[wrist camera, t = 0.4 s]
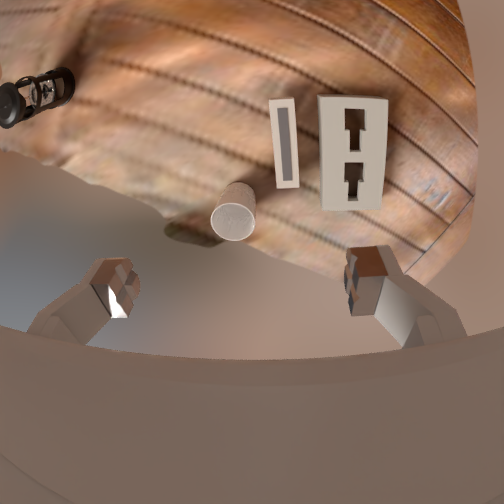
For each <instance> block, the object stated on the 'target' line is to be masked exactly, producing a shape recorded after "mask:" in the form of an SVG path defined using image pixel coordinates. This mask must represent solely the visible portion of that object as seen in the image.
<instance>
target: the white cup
mask: <svg viewBox="0 0 504 504" xmlns="http://www.w3.org/2000/svg"><path fill="white" fill-rule="evenodd" d="M255 219H256V202H255V194H254V191H253V189H252V188H251V187H250V186H249V185H247V184H244V183H241V182H238V183H232V184H230V185H228V186H227V187H226V189H225V190H224V191H223V193H222V195H221V197H220V199H219V200H218V202H217V204H216V207H215V209H214V211H213V213H212V216H211V225H212V227H213V229H214V231H215V232H216V233H217V234H218V235H219V236H221V237H222V238H224V239H227V240H232V241H237V240H242V239H245V238H247V237H248V236H249V235H251V233H252V232H253V230H254V228H255Z"/></svg>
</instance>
